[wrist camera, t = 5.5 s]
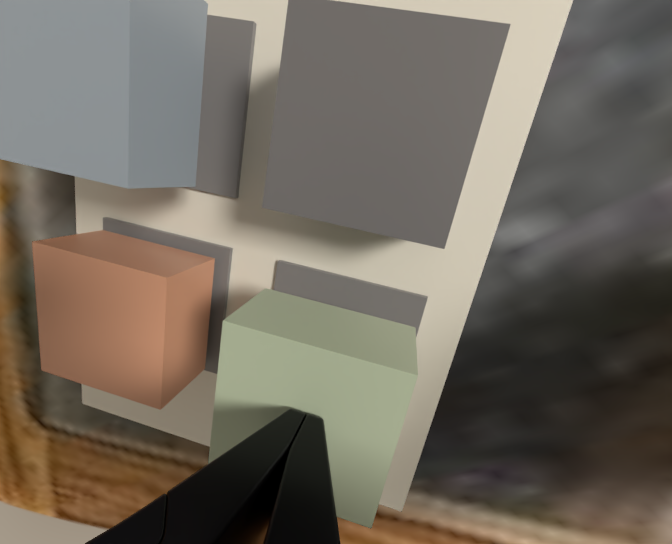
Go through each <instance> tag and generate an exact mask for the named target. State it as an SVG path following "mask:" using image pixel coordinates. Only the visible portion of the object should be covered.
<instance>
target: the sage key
mask: <svg viewBox="0 0 672 544" xmlns="http://www.w3.org/2000/svg"><path fill="white" fill-rule="evenodd" d="M417 377H418V366H417V347H416V328H415V327H413V326H409V325H405V324H401V323H397V322H393V321H390V320H386V319H382V318H378V317H374V316H370V315H367V314H363V313H359V312H355V311H351V310H348V309H344V308H340V307H336V306H332V305H328V304H325V303H321V302H317V301H313V300H309V299H305V298H302V297H298V296H294V295H290V294H286V293H282V292H279V291H275V290H271V289H267V288H265V289H264V290H263V291H261V292H260V293H259V294H257V295H256V296H255V297H253V298H252V299H251V300H249V301H248V302H247V303H246V304H244V305H243V306H242V307H240V308H239V309H238V310H236V311H235V312H234V313H232V314H231V315H230V316H228V317H227V318H226V319H224V320H223V324H222V334H221V343H220V353H219V363H218V372H217V382H216V392H215V401H214V411H213V421H212V430H211V440H210V450H209V459H208V464H209V463H210V462H212V461H213V460H215V459H216V458H218V457H219V456H221V455H222V454H224V453H225V452H227V451H228V450H230V449H231V448H232V447H234V446H235V445H237V444H238V443H240V442H241V441H243V440H244V439H246V438H247V437H249V436H250V435H252V434H253V433H255V432H256V431H258V430H259V429H260V428H262V427H263V426H265V425H266V424H268V423H269V422H271V421H272V420H274V419H275V418H277V417H278V416H280V415H281V414H283V413H284V412H286V411H287V410H289V409H295V410H299V411H302V412H304V413H305V414H306V415H308V414H311V415H315V416H318V417H321V418H322V419H323V420H324V426H325V434H326V441H327V448H328V456H329V463H330V471H331V478H332V486H333V493H334V501H335V508H336V516H337V517H340V518H342V519H345V520H348V521H351V522H354V523H357V524H360V525H362V526H365V527H368V528H372V524H373V521H374V518H375V515H376V511H377V508H378V505H379V501H380V498H381V495H382V492H383V488H384V485H385V482H386V479H387V475H388V472H389V469H390V465H391V462H392V459H393V456H394V452H395V449H396V446H397V443H398V439H399V436H400V433H401V429H402V426H403V423H404V420H405V416H406V413H407V410H408V407H409V403H410V400H411V397H412V393H413V390H414V387H415V384H416V380H417Z"/></svg>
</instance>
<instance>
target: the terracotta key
mask: <svg viewBox="0 0 672 544" xmlns="http://www.w3.org/2000/svg"><path fill="white" fill-rule="evenodd" d="M32 248H33V262H34V276H35V290H36V303H37V317H38V331H39V345H40V358H41V371H44V372H47V373H50V374H53V375H56V376H59V377H62V378H65V379H68V380H71V381H74V382H77V383H80V384H84V385H87V386H90V387H93V388H96V389H99V390H102V391H105V392H108V393H111V394H114V395H117V396H120V397H123V398H126V399H129V400H132V401H135V402H138V403H141V404H144V405H147V406H150V407H153V408H156V409H159V410H161V409H162V408H163V407H164V406H165V405H167V404H168V403H169V402H170V401H171V400H172V399H173V398H174V397H175V396H176V395H177V394H178V393H179V392H181V391H182V390H183V389H184V388H185V387H186V386H187V385H188V384H189V383H190V382H191V381H192V380H193V379H195V378H196V377H197V376H198V375H199V374H200V373H201V372H202V371H203V370H204V369H205V363H206V352H207V341H208V330H209V319H210V308H211V297H212V286H213V275H214V264H215V258H211V257H208V256H204V255H200V254H196V253H192V252H188V251H184V250H180V249H176V248H172V247H168V246H164V245H160V244H156V243H152V242H148V241H145V240H141V239H137V238H133V237H129V236H125V235H121V234H117V233H113V232H109V231H105V230H100V231H94V232H87V233H81V234H75V235H69V236H63V237H57V238H51V239H44V240H38V241H32Z"/></svg>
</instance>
